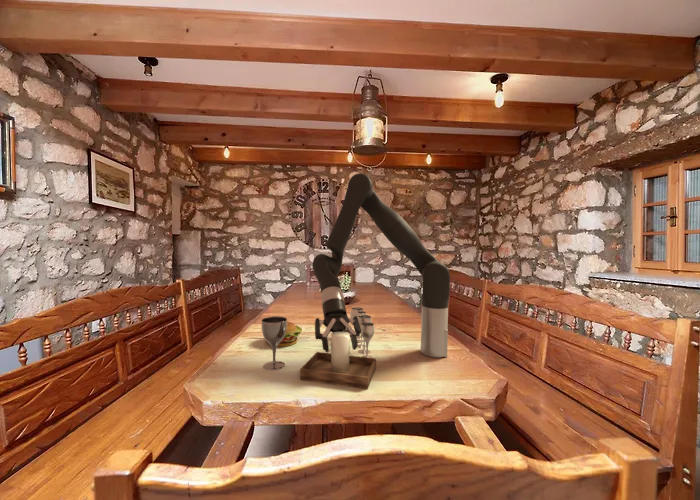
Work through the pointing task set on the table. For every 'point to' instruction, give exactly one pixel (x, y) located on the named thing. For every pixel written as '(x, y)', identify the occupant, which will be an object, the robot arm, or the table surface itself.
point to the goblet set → (363, 329)
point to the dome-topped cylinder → (340, 352)
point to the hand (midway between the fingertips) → (341, 349)
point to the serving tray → (355, 377)
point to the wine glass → (274, 337)
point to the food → (290, 335)
